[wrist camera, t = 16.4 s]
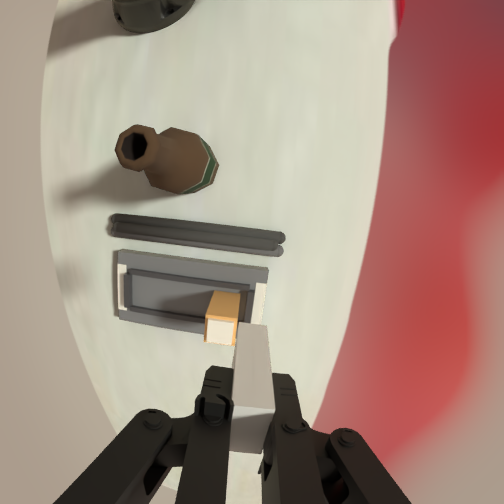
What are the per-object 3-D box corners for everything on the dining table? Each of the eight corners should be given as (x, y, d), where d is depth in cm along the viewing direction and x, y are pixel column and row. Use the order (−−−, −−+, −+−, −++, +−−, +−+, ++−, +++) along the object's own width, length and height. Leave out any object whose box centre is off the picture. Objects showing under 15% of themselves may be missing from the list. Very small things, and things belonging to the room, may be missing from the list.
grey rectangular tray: (122, 248, 45) (114, 253, 42) (267, 267, 46) (269, 273, 42) (123, 314, 48) (116, 322, 44) (257, 335, 48) (258, 345, 45)
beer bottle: (197, 203, 44) (137, 219, 20) (160, 171, 43) (73, 158, 19) (230, 164, 42) (205, 135, 19) (192, 133, 41) (133, 79, 18)
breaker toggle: (214, 290, 44) (204, 316, 35) (240, 293, 44) (237, 320, 35) (212, 314, 45) (203, 344, 36) (237, 317, 45) (234, 348, 36)
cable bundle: (113, 235, 45) (104, 238, 42) (114, 212, 44) (105, 214, 41) (282, 256, 45) (284, 260, 42) (285, 231, 45) (288, 235, 41)
